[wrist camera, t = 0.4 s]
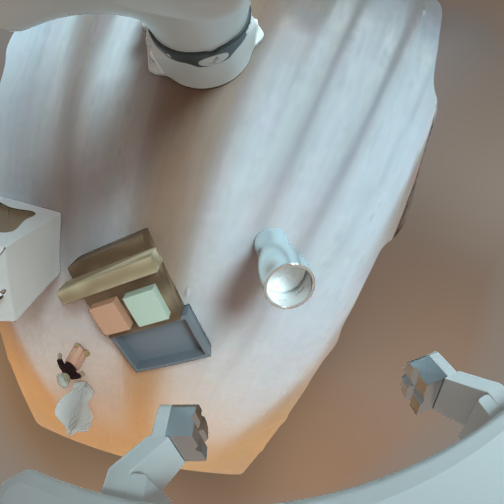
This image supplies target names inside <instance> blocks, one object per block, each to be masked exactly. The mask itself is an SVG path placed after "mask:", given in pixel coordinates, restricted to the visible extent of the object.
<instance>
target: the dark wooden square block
mask: <svg viewBox="0 0 504 504" xmlns="http://www.w3.org/2000/svg"><path fill="white" fill-rule="evenodd" d="M154 247H156V246H155V244H154V242H153V239H152V237H151V235H150V233H149V230H148V228H146V229H143V230H141V231H138V232H136V233H133V234H131V235H129V236H126V237H124V238H121V239H119V240H117V241H114V242H112V243H110V244H107V245H105V246H103V247H100V248H98V249H96V250H93V251H91V252H89V253H87V254H84V255H82V256H80V257H78V258H77V259H76V260H75V261H74V262H73V263H72V264H71V265H70V266H69V267H68V270H69V272H70V274H71V276H72V278H73V279H75V278H77V277H79V276H82V275H84V274H87V273H89V272H92V271H94V270H97V269H99V268H102V267H104V266H107V265H109V264H112V263H114V262H117V261H119V260H122V259H125V258H127V257H130V256H132V255H135V254H138V253H140V252H143V251H146V250H148V249H151V248H154ZM152 284H156V286H157V288H158V290H159V292H160V294H161V295H162V297H163V299H164V301H165V303H166V305H167V306H168V308H169V310H170V312H171V313H170V316H169V319H167V320H163V321H160V322H156V323H152V324H149V325H145V326H141V327H139V326H138V324H137V323H136V321H135V319H134V318H133V316H132V315H131V313H130V311H129V310H128V308H127V306H126V305H125V303H124V301H123V297H124V295H125V294H126V293H127V292H130V291H133V290H136V289H139V288H143V287H146V286H149V285H152ZM115 296H117V297H118V299H119V301H120V302H121V304H122V306H123V307H124V309H125V311H126V312H127V314H128V316H129V317H130V319H131V320H132V322H133V324H132V326H131V329H130V330H126V331H122V332H119V333H115V334H111V335H108V336H109V337H110V338H113V337H117V336H121V335H125V334H129V333H133V332H137V331H140V330H144V329H148V328H152V327H155V326H159V325H163V324H166V323H170V322H174V321H177V320H181V315H182V311H183V306H184V303H183V301H182V299H181V297H180V296H179V294H178V292H177V290H176V288H175V286H174V284H173V282H172V280H171V278H170V276H169V273H168V271H167V269H166V267H165V265H164V263H163V261H162V263H161V265H160V267H159V270H158V272H156V273H153V274H150V275H147V276H144V277H141V278H139V279H136V280H133V281H130V282H127V283H124V284H121V285H118V286H116V287H113V288H110V289H107V290H104V291H101V292H99V293H96V294H93V295H90V296H87V297H84V299H85V300H86V302H87V304H88V305H89V307H91V305H92V304H94V303H97V302H100V301H103V300H106V299H109V298H112V297H115Z"/></svg>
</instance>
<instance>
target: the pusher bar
mask: <svg viewBox="0 0 504 504" xmlns="http://www.w3.org/2000/svg"><path fill="white" fill-rule="evenodd" d="M162 261H163V260H162V258H161V256H160V254H159V252H158V249H157V247H154V248H151V249H148V250H146V251H143V252H140V253H138V254H135V255H132V256H130V257H127V258H125V259H122V260H119V261H117V262H114V263H112V264H109V265H107V266H104V267H102V268H99V269H97V270H94V271H92V272H89V273H87V274H84V275H82V276H79V277H77V278H75V279H72V280H70V281H67V282H66V283H65V284H64V285H63V286H62V287H61V288H60V289H59V290H58V292H57V295H58V297H59V298H60V300H61V302H62V303H63V305H65V304H68V303H70V302H73V301H76V300H79V299H82V298H84V297H87V296H90V295H93V294H96V293H99V292H101V291H104V290H107V289H110V288H113V287H116V286H118V285H121V284H124V283H127V282H130V281H133V280H136V279H139V278H141V277H144V276H147V275H150V274H153V273H156V272H158V270H159V267H160V265H161V263H162Z"/></svg>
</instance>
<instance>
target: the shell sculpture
mask: <svg viewBox="0 0 504 504" xmlns="http://www.w3.org/2000/svg"><path fill="white" fill-rule="evenodd" d="M86 385H87V384H86V383H85V382H76V383H75V384H74V386H73V390H71V391H70V392H69V393H67V394H66V395H65V396H64V397H63V398H62V399H61V400H60V401H59V402H58V403H57V406H56V409H55V415H56V417H57V418H58V419H59V420H60V421H61V422H62V423H63V425H64V427H66V430H67V431H68V436H69V434H71V436H73V435H74V434H75V433H76V432H84V431H89V427H92V424H91V422H92V421H93V416H92V412H91V410H90V408H89V404H88V402H89V401H90V399H91V398H92V396H93V394H94V393H93V390H92V389H91V388H90V387H89V385H87V386H86ZM85 386H86V387H85ZM84 387H85V388H84ZM69 431H70V433H69ZM69 438H70V436H69Z"/></svg>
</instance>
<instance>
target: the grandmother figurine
mask: <svg viewBox="0 0 504 504" xmlns="http://www.w3.org/2000/svg"><path fill="white" fill-rule="evenodd" d="M89 355H90V353H89V352H88V351H87V350H83V348H82V346H81V345H80V344H78V343H75V345H74V347H73V349H72V350H71V352H70V353H69V355H68V357H67V359H66V362H65V364H64V362H63V360H62V354H61V353H59V354H58V360H57V362H58V365H59V367H60V369H61V370H62V372H63V373H61V374H58V375H57V381H58V383H59V385H60V386H62V387H63V388H67V387H68V386H69V382H70V379H79V378H81V377H82V376H84V375H85V373H84V372H81V373H77V372H76V371H77V370H78V369H79V368H80V366H81V364H82V363H83V361H84V359H85V357H86V356H89Z"/></svg>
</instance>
